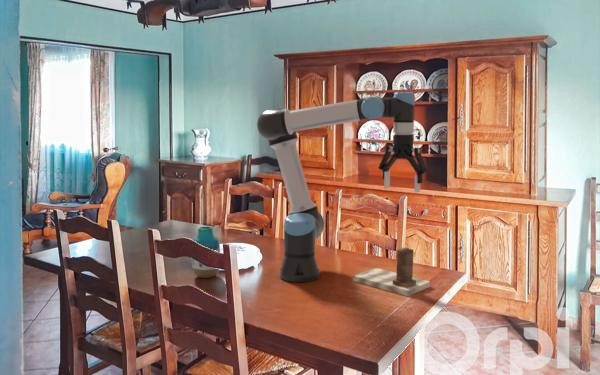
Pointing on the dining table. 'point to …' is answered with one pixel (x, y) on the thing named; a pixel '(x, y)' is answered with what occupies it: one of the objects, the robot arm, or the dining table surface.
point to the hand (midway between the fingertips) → (401, 190)
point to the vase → (211, 242)
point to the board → (389, 281)
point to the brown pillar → (404, 268)
